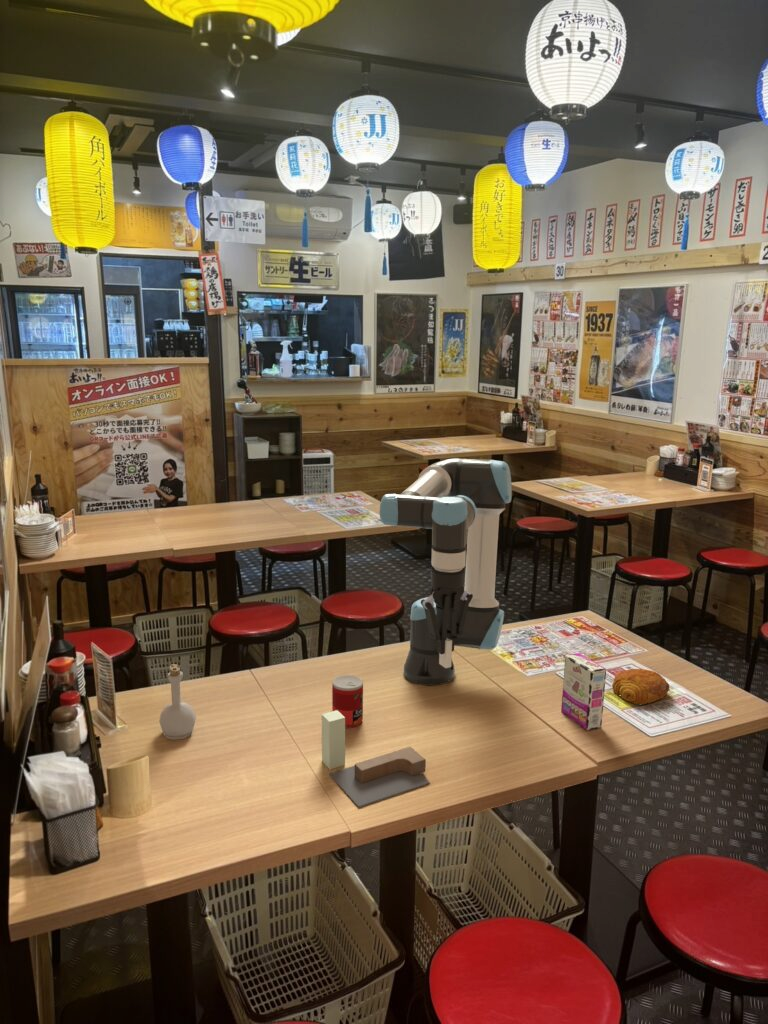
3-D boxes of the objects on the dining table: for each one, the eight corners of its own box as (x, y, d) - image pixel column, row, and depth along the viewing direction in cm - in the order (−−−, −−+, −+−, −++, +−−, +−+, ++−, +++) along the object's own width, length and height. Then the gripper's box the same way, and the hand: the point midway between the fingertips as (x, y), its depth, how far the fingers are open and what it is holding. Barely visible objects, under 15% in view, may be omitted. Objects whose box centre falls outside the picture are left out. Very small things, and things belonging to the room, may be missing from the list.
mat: (397, 754, 175) (397, 752, 175) (429, 783, 163) (429, 782, 163) (329, 774, 166) (329, 773, 166) (358, 807, 154) (358, 806, 154)
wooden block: (410, 758, 172) (354, 776, 164) (410, 746, 171) (354, 763, 164) (425, 772, 167) (368, 791, 159) (426, 759, 166) (368, 778, 158)
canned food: (359, 729, 186) (359, 689, 183) (328, 726, 187) (328, 686, 185) (365, 715, 193) (366, 676, 190) (336, 712, 194) (336, 673, 192)
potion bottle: (184, 720, 189) (181, 655, 185) (202, 733, 183) (199, 666, 179) (153, 732, 183) (149, 665, 179) (170, 746, 177) (167, 677, 173)
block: (337, 756, 173) (337, 710, 171) (345, 764, 170) (345, 717, 167) (322, 761, 171) (321, 714, 169) (329, 769, 168) (329, 721, 165)
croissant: (675, 704, 206) (681, 678, 205) (641, 711, 197) (647, 683, 196) (633, 683, 218) (639, 658, 216) (599, 689, 209) (604, 663, 207)
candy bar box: (602, 727, 188) (607, 668, 185) (587, 731, 186) (591, 671, 183) (575, 708, 198) (579, 651, 195) (560, 711, 196) (564, 654, 193)
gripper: (461, 558, 169) (458, 653, 174) (414, 567, 162) (412, 665, 168) (481, 567, 162) (477, 665, 168) (433, 576, 156) (430, 678, 162)
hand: (445, 665), depth 168 cm, fingers closed
